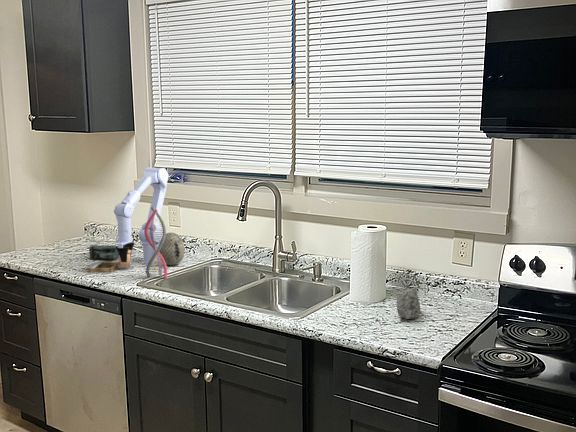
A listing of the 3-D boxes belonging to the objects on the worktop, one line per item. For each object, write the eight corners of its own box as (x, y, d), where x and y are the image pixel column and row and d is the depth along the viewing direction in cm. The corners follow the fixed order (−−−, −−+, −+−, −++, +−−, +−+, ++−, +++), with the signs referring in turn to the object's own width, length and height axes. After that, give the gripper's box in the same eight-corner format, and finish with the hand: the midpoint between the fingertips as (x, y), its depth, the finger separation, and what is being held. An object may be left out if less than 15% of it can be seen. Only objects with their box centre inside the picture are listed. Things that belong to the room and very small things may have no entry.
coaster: (135, 267, 284) (135, 266, 284) (131, 271, 278) (131, 270, 278) (121, 267, 285) (121, 266, 285) (116, 271, 278) (116, 269, 278)
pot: (132, 264, 283) (132, 249, 282) (128, 267, 278) (129, 252, 277) (120, 263, 283) (121, 248, 282) (116, 266, 278) (117, 250, 277)
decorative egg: (167, 269, 281) (165, 236, 278) (154, 264, 290) (153, 232, 287) (189, 265, 288) (188, 233, 286) (177, 260, 297) (175, 229, 295)
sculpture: (122, 247, 307) (91, 253, 305) (118, 236, 302) (87, 242, 300) (123, 264, 298) (90, 270, 296) (119, 252, 293) (86, 259, 291)
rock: (410, 305, 227) (408, 281, 224) (431, 309, 222) (429, 284, 219) (390, 323, 215) (387, 298, 213) (411, 328, 210) (409, 301, 208)
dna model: (162, 281, 261) (160, 209, 256) (142, 280, 263) (139, 209, 258) (170, 275, 270) (168, 206, 265) (151, 274, 272) (148, 206, 267)
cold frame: (120, 266, 287) (120, 260, 286) (111, 273, 274) (110, 267, 274) (96, 265, 287) (96, 260, 287) (86, 273, 275) (86, 267, 274)
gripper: (120, 227, 286) (122, 256, 288) (110, 233, 271) (111, 264, 274) (136, 227, 285) (137, 256, 287) (126, 233, 271) (127, 264, 273)
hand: (126, 260), depth 281 cm, fingers closed on pot, 5 cm apart
